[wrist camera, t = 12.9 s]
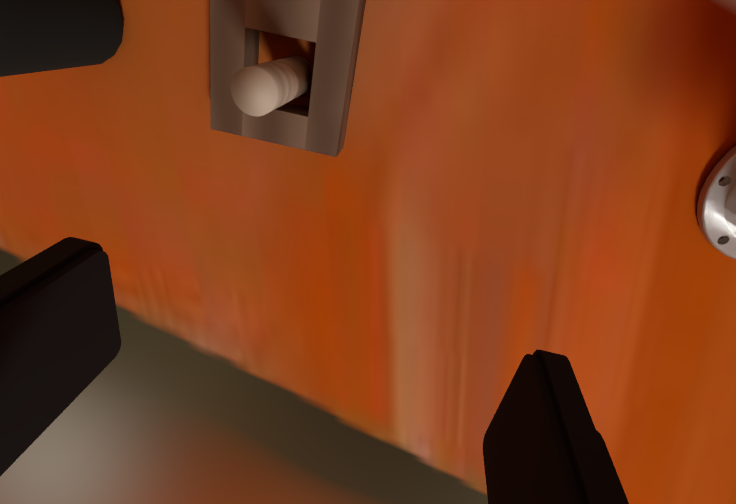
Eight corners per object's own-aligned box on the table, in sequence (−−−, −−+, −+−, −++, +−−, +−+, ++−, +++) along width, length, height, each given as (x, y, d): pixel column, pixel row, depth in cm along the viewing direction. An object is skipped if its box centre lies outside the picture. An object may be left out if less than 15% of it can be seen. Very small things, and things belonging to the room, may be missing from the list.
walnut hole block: (391, -164, 27) (386, -184, 25) (343, 147, 38) (336, 156, 35) (229, -196, 28) (208, -219, 25) (226, 121, 38) (210, 128, 36)
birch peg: (317, 59, 35) (277, 72, 26) (313, 97, 36) (274, 120, 27) (282, 51, 35) (231, 62, 26) (279, 89, 36) (230, 111, 28)
